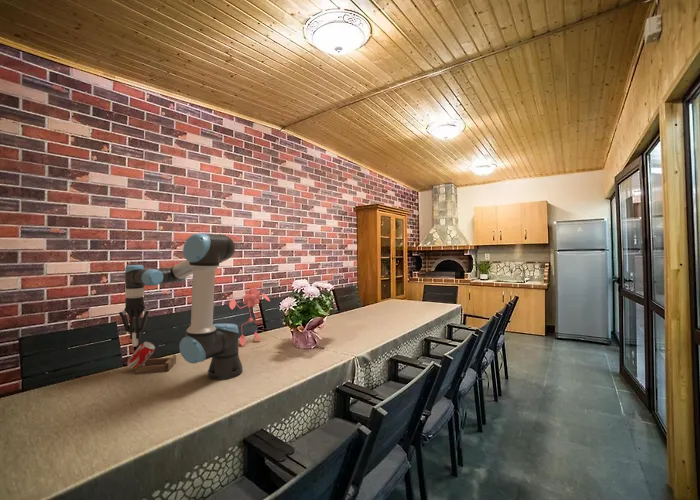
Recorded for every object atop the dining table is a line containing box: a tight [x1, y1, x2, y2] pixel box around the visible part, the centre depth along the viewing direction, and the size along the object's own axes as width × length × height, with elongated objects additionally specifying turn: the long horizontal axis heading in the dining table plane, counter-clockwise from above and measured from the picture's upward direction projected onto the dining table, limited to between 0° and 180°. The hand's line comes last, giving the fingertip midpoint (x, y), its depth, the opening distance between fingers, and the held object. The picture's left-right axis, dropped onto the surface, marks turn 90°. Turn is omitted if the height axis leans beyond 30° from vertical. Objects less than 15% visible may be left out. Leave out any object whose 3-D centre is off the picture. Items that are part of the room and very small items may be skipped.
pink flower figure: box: [228, 286, 271, 349], centre depth 195 cm, size 15×26×35 cm, turn 138°
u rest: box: [134, 354, 177, 375], centre depth 157 cm, size 12×14×4 cm
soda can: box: [126, 341, 156, 370], centre depth 156 cm, size 7×7×12 cm
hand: (135, 345), depth 155 cm, fingers closed
